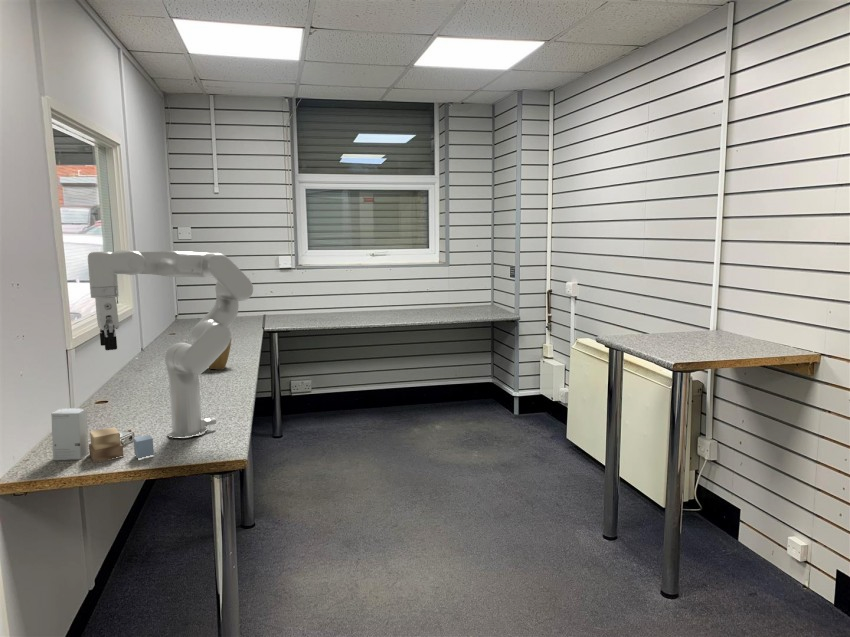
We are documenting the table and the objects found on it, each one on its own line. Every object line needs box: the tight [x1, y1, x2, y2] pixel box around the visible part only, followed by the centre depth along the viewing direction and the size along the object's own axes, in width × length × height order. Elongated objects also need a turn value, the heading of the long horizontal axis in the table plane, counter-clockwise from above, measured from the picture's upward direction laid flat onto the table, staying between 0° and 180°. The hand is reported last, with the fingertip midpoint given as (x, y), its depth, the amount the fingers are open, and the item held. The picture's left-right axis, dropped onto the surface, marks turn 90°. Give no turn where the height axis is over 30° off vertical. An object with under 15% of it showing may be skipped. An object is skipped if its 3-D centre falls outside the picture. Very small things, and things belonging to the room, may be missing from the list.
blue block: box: [132, 434, 155, 458], centre depth 183 cm, size 4×4×6 cm
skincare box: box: [50, 407, 90, 461], centre depth 183 cm, size 8×6×15 cm
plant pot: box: [208, 339, 232, 370], centre depth 305 cm, size 15×15×16 cm
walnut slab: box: [88, 442, 124, 464], centre depth 184 cm, size 8×8×4 cm
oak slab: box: [89, 426, 122, 450], centre depth 183 cm, size 7×7×4 cm
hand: (108, 347), depth 184 cm, fingers open, 9 cm apart
